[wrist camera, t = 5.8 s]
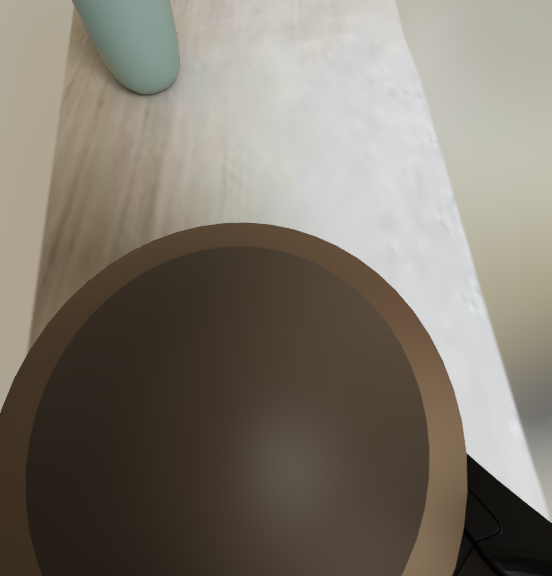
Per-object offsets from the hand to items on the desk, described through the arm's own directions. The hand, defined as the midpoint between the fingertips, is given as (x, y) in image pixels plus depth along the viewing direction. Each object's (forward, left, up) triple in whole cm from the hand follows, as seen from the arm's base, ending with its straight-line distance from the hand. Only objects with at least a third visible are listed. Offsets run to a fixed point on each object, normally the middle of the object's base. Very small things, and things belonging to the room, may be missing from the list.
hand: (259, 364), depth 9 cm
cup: (+31, +14, -13) cm, 37 cm away
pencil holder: (-1, 0, -7) cm, 7 cm away
